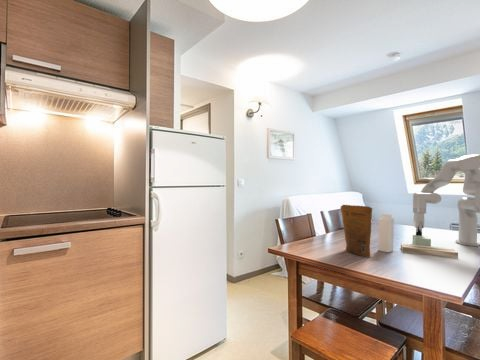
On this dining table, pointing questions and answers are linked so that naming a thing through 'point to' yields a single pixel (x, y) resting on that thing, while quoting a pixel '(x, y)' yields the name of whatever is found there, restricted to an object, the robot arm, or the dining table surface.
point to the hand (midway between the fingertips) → (418, 237)
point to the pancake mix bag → (357, 229)
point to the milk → (386, 233)
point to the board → (429, 250)
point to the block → (421, 240)
